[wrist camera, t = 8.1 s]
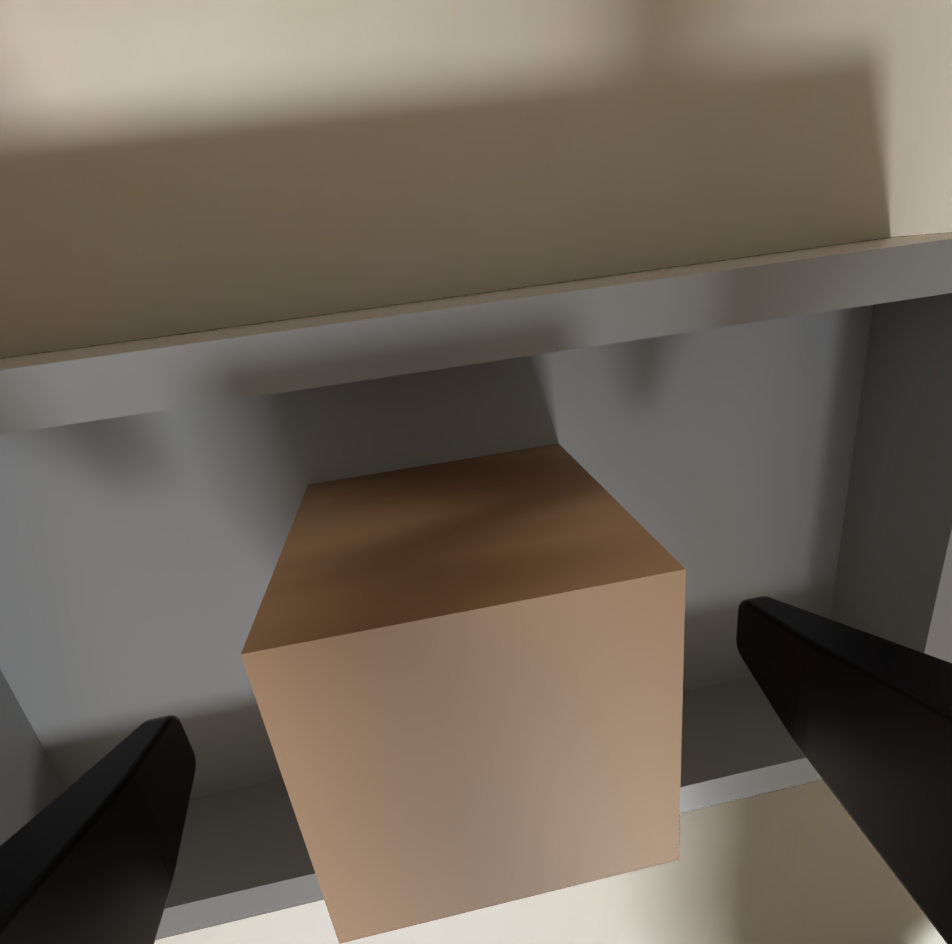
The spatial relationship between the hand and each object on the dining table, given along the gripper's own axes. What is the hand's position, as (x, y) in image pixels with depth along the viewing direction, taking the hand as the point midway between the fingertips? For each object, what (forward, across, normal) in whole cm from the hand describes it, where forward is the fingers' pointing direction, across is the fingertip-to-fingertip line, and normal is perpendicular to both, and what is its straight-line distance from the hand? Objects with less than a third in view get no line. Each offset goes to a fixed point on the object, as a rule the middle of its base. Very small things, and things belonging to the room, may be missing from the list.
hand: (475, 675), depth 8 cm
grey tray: (+4, 0, 0) cm, 4 cm away
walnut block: (+3, 0, 0) cm, 3 cm away
